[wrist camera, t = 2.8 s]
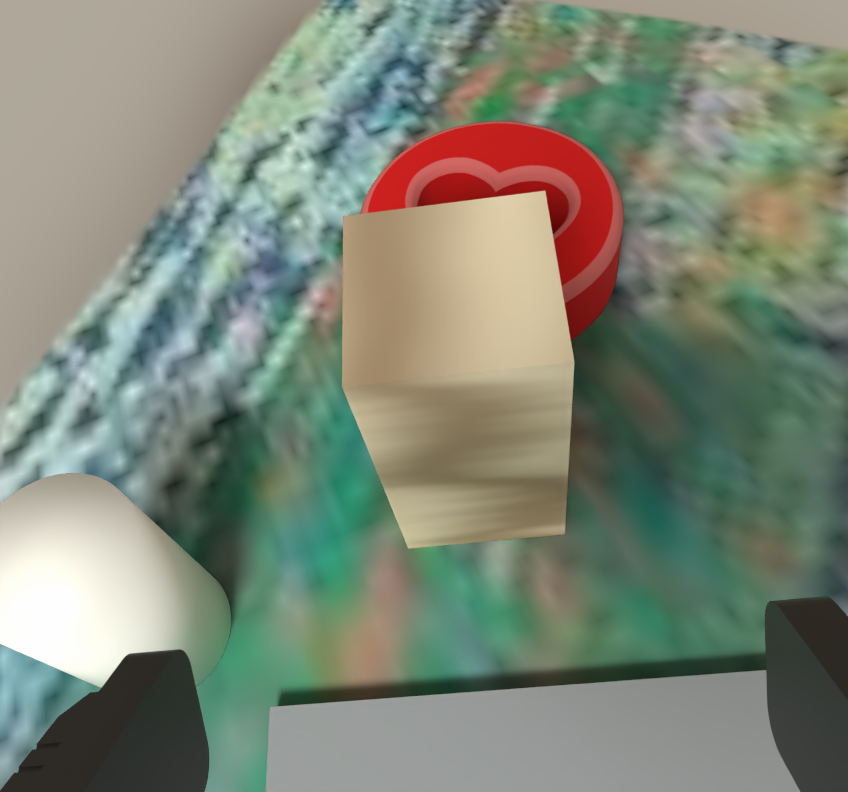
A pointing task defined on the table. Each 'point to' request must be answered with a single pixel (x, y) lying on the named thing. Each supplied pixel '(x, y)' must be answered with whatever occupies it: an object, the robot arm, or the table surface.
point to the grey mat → (537, 740)
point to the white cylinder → (101, 582)
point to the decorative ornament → (516, 174)
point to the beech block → (461, 366)
